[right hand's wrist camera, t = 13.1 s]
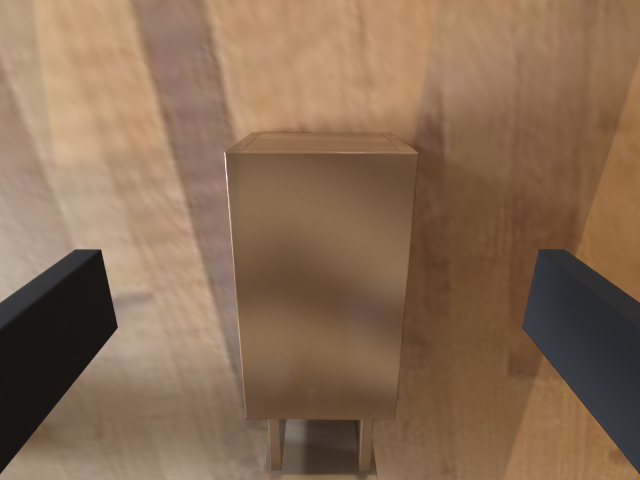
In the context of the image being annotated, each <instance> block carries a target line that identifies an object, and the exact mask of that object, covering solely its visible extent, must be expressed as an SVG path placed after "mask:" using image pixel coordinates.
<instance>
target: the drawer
mask: <svg viewBox="0 0 640 480" xmlns="http://www.w3.org/2000/svg"><path fill="white" fill-rule="evenodd" d="M268 428H269V441H268V448H267V455H266V461H265V468H264V475H263V480H378V478H377V470H376V463H375V456H374V449H373V442H372V428H373V420H312V419H268Z"/></svg>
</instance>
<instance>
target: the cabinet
mask: <svg viewBox="0 0 640 480" xmlns="http://www.w3.org/2000/svg"><path fill="white" fill-rule="evenodd" d="M224 154H225V166H226V178H227V191H228V203H229V216H230V228H231V241H232V253H233V265H234V278H235V290H236V303H237V315H238V328H239V340H240V352H241V365H242V377H243V390H244V402H245V415H246V419H312V420H395V418H396V406H397V395H398V384H399V372H400V361H401V350H402V338H403V327H404V316H405V304H406V293H407V281H408V270H409V259H410V247H411V236H412V225H413V213H414V202H415V191H416V179H417V168H418V156H419V153H418V152H417V151H415V150H414V149H413V148H411V147H410V146H409V145H407V144H406V143H404V142H403V141H402V140H400V139H399V138H398V137H396V136H395V135H393V134H392V133H251V134H249V135H248V136H246V137H245V138H244V139H242V140H241V141H240V142H238V143H237V144H235V145H234V146H233V147H231V148H230V149H228V150H227V151H226V152H225V153H224Z"/></svg>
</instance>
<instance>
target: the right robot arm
mask: <svg viewBox="0 0 640 480" xmlns="http://www.w3.org/2000/svg"><path fill="white" fill-rule="evenodd" d="M117 328H118V326H117V321H116V317H115V312H114V307H113V303H112V298H111V293H110V289H109V284H108V280H107V275H106V270H105V266H104V261H103V256H102V252H101V250H74V251H73V252H71V253H70V254H68V255H67V256H66V257H64V258H63V259H61V260H60V261H59V262H57V263H56V264H54V265H53V266H52V267H50V268H49V269H47V270H46V271H44V272H43V273H42V274H40V275H39V276H37V277H36V278H35V279H33V280H32V281H30V282H29V283H28V284H26V285H25V286H23V287H22V288H21V289H19V290H18V291H16V292H15V293H13V294H12V295H11V296H9V297H8V298H6V299H5V300H4V301H2V302H1V303H0V474H1V473H2V471H3V470H4V469H5V468H6V466H7V465H8V464H9V463H10V461H11V460H12V459H13V458H14V456H15V455H16V454H17V453H18V451H19V450H20V449H21V448H22V446H23V445H24V444H25V443H26V441H27V440H28V439H29V438H30V436H31V435H32V434H33V433H34V431H35V430H36V429H37V428H38V426H39V425H40V424H41V423H42V421H43V420H44V419H45V418H46V416H47V415H48V414H49V413H50V412H51V410H52V409H53V408H54V407H55V405H56V404H57V403H58V402H59V400H60V399H61V398H62V397H63V395H64V394H65V393H66V392H67V390H68V389H69V388H70V387H71V385H72V384H73V383H74V382H75V380H76V379H77V378H78V377H79V375H80V374H81V373H82V372H83V370H84V369H85V368H86V367H87V365H88V364H89V363H90V362H91V360H92V359H93V358H94V357H95V355H96V354H97V353H98V352H99V350H100V349H101V348H102V347H103V346H104V344H105V343H106V342H107V341H108V339H109V338H110V337H111V336H112V334H113V333H114V332H115V331H116V329H117ZM522 328H523V329H524V331H525V332H526V333H527V334H528V336H529V337H530V338H531V339H532V341H533V342H534V343H535V344H536V346H537V347H538V348H539V349H540V350H541V352H542V353H543V354H544V355H545V357H546V358H547V359H548V360H549V362H550V363H551V364H552V365H553V367H554V368H555V369H556V370H557V372H558V373H559V374H560V375H561V377H562V378H563V379H564V380H565V382H566V383H567V384H568V385H569V387H570V388H571V389H572V390H573V392H574V393H575V394H576V395H577V397H578V398H579V399H580V400H581V402H582V403H583V404H584V405H585V407H586V408H587V409H588V410H589V412H590V413H591V414H592V415H593V416H594V418H595V419H596V420H597V421H598V423H599V424H600V425H601V426H602V428H603V429H604V430H605V431H606V433H607V434H608V435H609V436H610V438H611V439H612V440H613V441H614V443H615V444H616V445H617V446H618V448H619V449H620V450H621V451H622V453H623V454H624V455H625V456H626V458H627V459H628V460H629V461H630V463H631V464H632V465H633V466H634V468H635V469H636V470H637V471H638V473H639V474H640V303H639V302H638V301H636V300H635V299H634V298H632V297H631V296H629V295H628V294H627V293H625V292H624V291H622V290H621V289H619V288H618V287H617V286H615V285H614V284H612V283H611V282H610V281H608V280H607V279H605V278H604V277H603V276H601V275H600V274H598V273H597V272H596V271H594V270H593V269H591V268H590V267H588V266H587V265H586V264H584V263H583V262H581V261H580V260H579V259H577V258H576V257H574V256H573V255H572V254H570V253H569V252H567V251H566V250H539V252H538V256H537V261H536V266H535V270H534V275H533V280H532V284H531V289H530V293H529V298H528V303H527V307H526V312H525V317H524V321H523V326H522Z"/></svg>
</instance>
